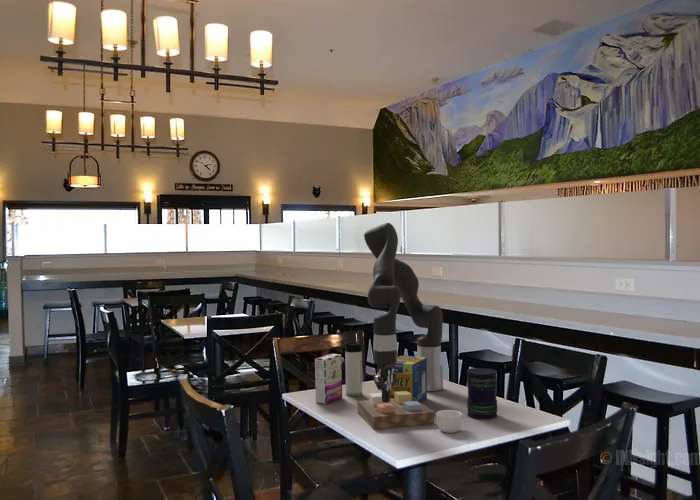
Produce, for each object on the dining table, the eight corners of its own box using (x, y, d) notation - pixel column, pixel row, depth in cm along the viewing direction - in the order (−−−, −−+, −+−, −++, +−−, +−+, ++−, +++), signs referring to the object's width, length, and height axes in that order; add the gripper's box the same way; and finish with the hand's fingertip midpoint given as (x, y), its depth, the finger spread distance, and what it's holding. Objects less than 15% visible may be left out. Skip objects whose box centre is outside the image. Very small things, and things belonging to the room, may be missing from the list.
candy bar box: (331, 396, 229) (331, 353, 229) (342, 398, 226) (342, 354, 226) (314, 403, 220) (314, 358, 219) (325, 404, 217) (325, 359, 217)
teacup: (446, 436, 180) (446, 418, 180) (431, 429, 186) (431, 412, 186) (473, 431, 184) (472, 413, 184) (457, 424, 191) (457, 407, 191)
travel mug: (342, 393, 233) (341, 342, 233) (357, 391, 236) (357, 340, 236) (349, 397, 227) (348, 344, 227) (365, 395, 230) (364, 342, 230)
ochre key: (407, 402, 207) (407, 391, 207) (411, 406, 202) (411, 394, 202) (394, 403, 206) (394, 391, 206) (398, 407, 201) (398, 395, 201)
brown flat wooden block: (412, 408, 211) (412, 396, 211) (434, 424, 191) (434, 411, 191) (357, 412, 206) (357, 401, 206) (373, 429, 187) (373, 416, 186)
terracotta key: (390, 415, 196) (390, 402, 196) (394, 419, 192) (394, 406, 191) (376, 416, 195) (376, 404, 195) (380, 420, 190) (380, 407, 190)
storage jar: (491, 421, 194) (490, 375, 194) (462, 417, 199) (462, 372, 199) (501, 414, 202) (501, 369, 202) (473, 410, 208) (473, 366, 208)
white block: (382, 404, 205) (381, 392, 205) (386, 408, 200) (385, 396, 200) (369, 405, 204) (368, 393, 204) (372, 409, 199) (372, 397, 199)
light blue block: (416, 413, 198) (416, 400, 198) (421, 416, 194) (421, 404, 194) (403, 414, 197) (402, 401, 197) (407, 418, 193) (407, 405, 193)
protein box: (385, 405, 215) (384, 362, 215) (401, 395, 229) (401, 354, 229) (412, 408, 210) (412, 364, 210) (427, 398, 224) (427, 356, 224)
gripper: (384, 344, 201) (385, 396, 201) (364, 350, 189) (365, 405, 189) (404, 345, 197) (405, 398, 197) (385, 352, 185) (386, 408, 186)
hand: (385, 401), depth 193 cm, fingers closed
